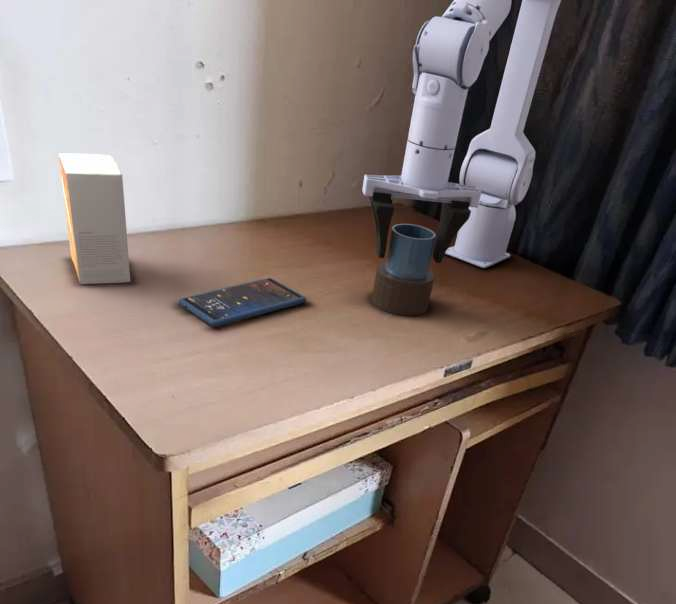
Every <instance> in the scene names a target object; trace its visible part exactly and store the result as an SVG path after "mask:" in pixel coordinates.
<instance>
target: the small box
mask: <svg viewBox="0 0 676 604" xmlns="http://www.w3.org/2000/svg"><path fill="white" fill-rule="evenodd" d="M58 161H59V162H58V163H59V169H60V176H61V185H62V192H63V200H64V209H65V215H66V223H67V231H68V241H69V248H70V255H71V261H72V263H73V266H74V269H75V272H76V275H77V279H78V282H79V284H80V285H94V284H123V283H124V284H125V283H131V272H130V270H131V269H130V259H129V247H128V246H129V245H128V231H127V218H126V217H127V216H126V207H125V205H126V204H125V194H124V193H125V191H124V181H123V174H122V172H121V169H120V168H119V165H118V163H117V162H116V160H115V159H114V157H113V156H112V155H109V154H94V153H93V154H92V153H58Z"/></svg>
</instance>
